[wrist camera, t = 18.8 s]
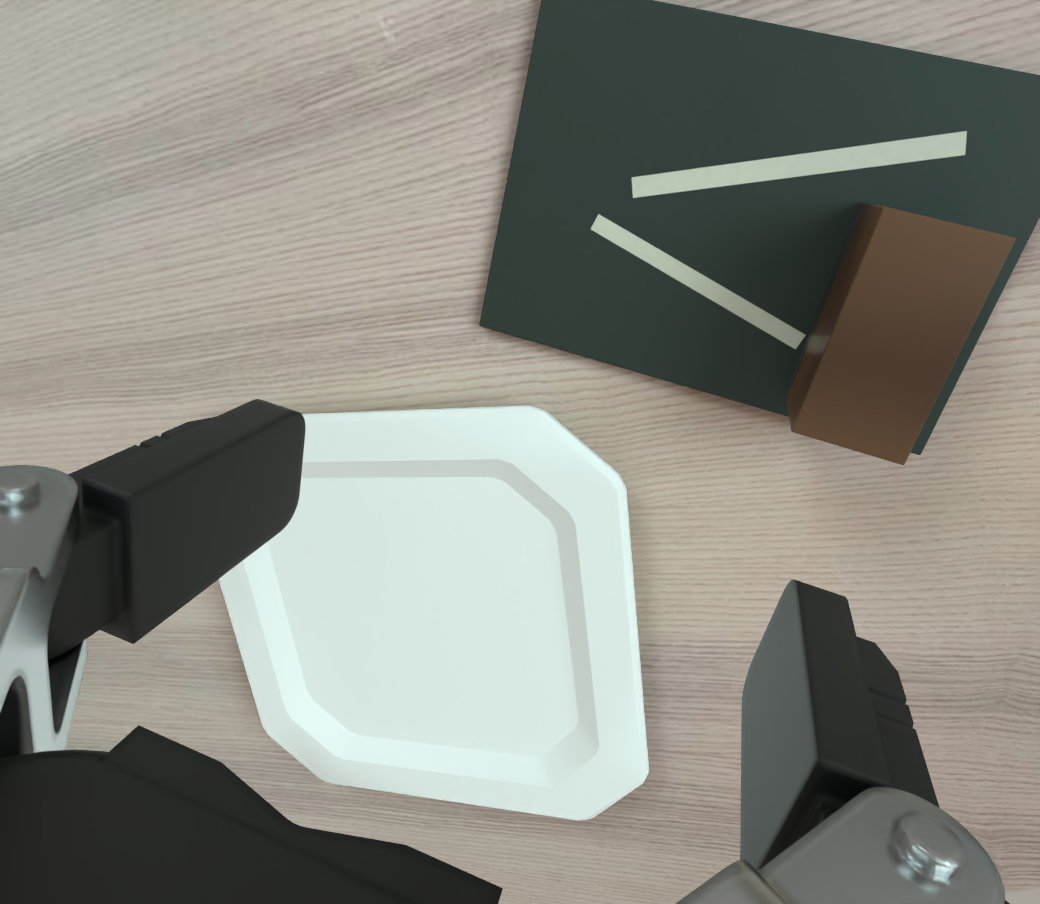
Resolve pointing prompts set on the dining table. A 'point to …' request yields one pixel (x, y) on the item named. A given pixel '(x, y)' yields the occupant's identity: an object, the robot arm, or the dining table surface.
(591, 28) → the chalkboard
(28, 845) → the robot arm
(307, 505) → the plate
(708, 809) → the dining table surface
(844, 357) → the eraser
